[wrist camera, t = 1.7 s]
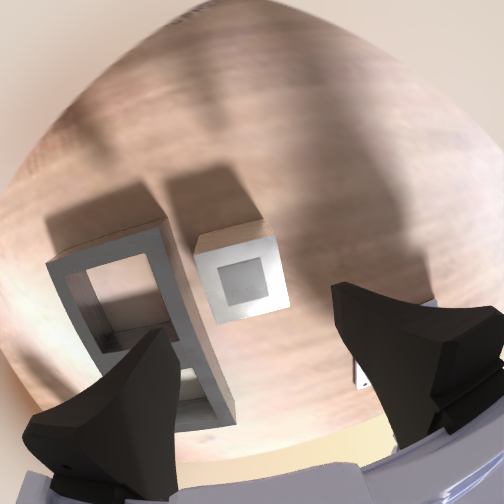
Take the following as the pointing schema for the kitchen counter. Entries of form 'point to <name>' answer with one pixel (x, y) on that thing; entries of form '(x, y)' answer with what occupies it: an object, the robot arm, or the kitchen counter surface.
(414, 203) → the kitchen counter surface
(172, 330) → the grey rectangular tray
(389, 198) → the kitchen counter surface
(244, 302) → the gray block
